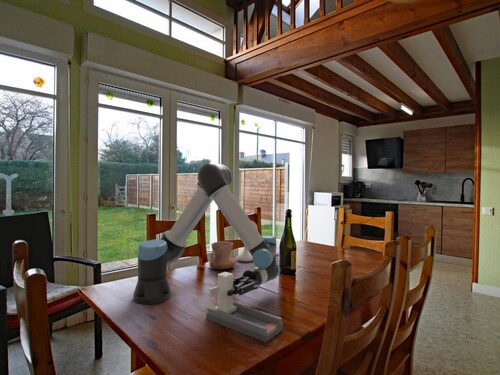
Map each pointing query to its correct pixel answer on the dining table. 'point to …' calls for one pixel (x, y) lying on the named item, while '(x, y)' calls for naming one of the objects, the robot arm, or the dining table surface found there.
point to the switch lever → (224, 283)
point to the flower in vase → (246, 251)
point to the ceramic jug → (222, 255)
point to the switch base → (248, 321)
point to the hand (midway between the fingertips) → (215, 294)
